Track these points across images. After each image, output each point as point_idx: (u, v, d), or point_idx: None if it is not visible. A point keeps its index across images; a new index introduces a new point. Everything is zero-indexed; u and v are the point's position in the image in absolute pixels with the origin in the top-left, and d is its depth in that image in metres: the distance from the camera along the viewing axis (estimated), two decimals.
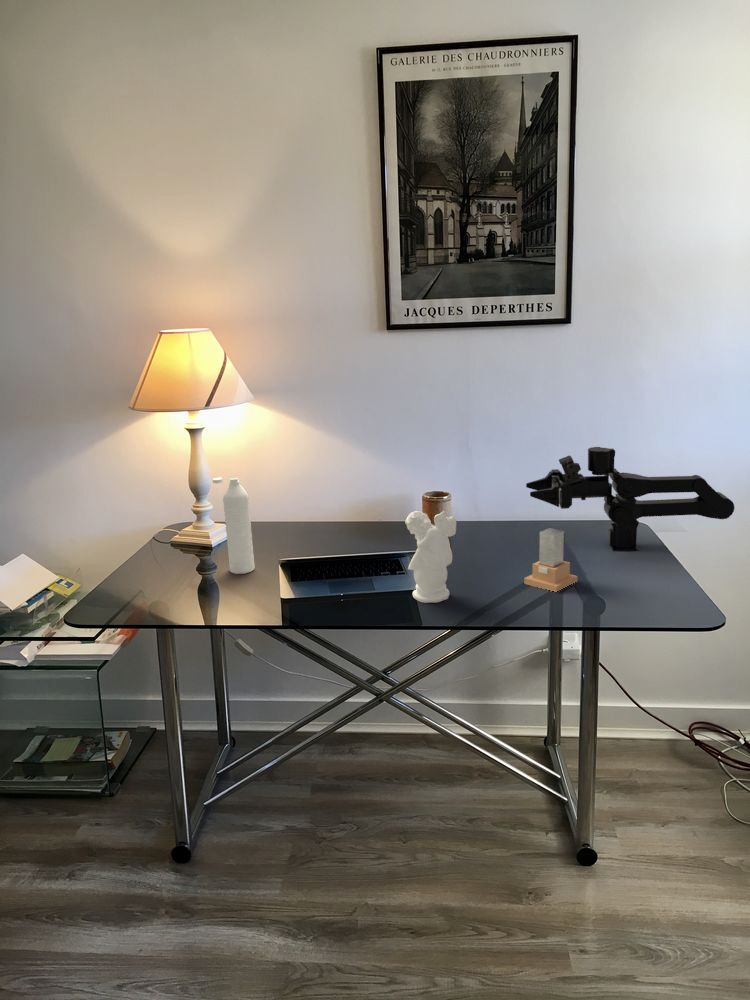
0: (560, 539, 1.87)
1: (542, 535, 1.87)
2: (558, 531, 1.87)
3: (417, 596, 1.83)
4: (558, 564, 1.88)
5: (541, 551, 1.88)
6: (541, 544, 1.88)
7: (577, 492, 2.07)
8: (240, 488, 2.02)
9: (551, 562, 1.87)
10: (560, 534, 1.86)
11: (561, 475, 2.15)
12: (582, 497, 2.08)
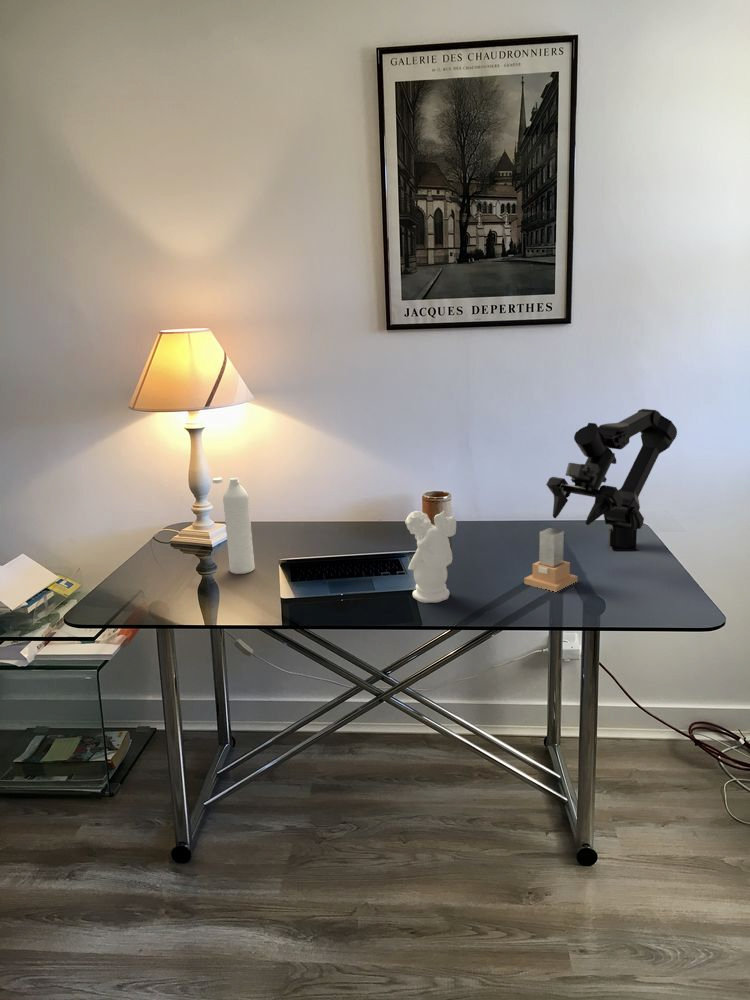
0: (560, 539, 1.87)
1: (542, 535, 1.87)
2: (558, 531, 1.87)
3: (417, 596, 1.83)
4: (558, 564, 1.88)
5: (541, 551, 1.88)
6: (541, 544, 1.88)
7: (601, 482, 1.95)
8: (240, 488, 2.02)
9: (551, 562, 1.87)
10: (560, 534, 1.86)
11: (563, 480, 1.98)
12: (604, 480, 1.96)
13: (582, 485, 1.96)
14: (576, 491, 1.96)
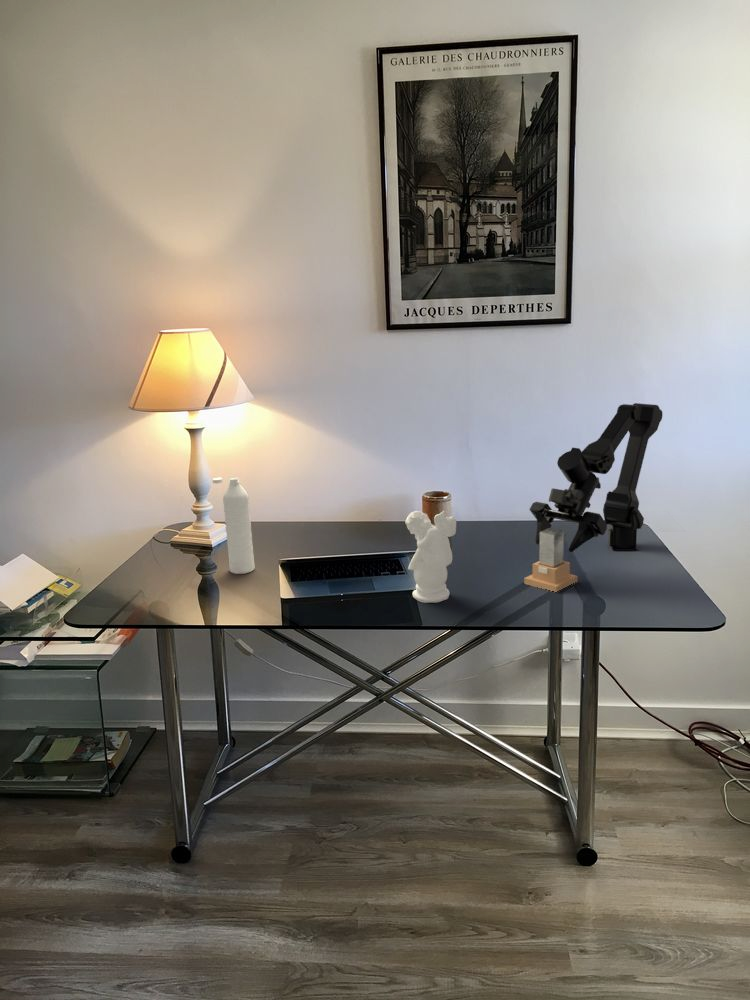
0: (560, 539, 1.87)
1: (542, 535, 1.87)
2: (558, 531, 1.87)
3: (417, 596, 1.83)
4: (558, 564, 1.88)
5: (541, 551, 1.88)
6: (541, 544, 1.88)
7: (585, 507, 1.91)
8: (240, 488, 2.02)
9: (551, 562, 1.87)
10: (560, 534, 1.86)
11: (546, 505, 1.94)
12: (588, 505, 1.93)
13: (565, 511, 1.92)
14: (559, 517, 1.92)
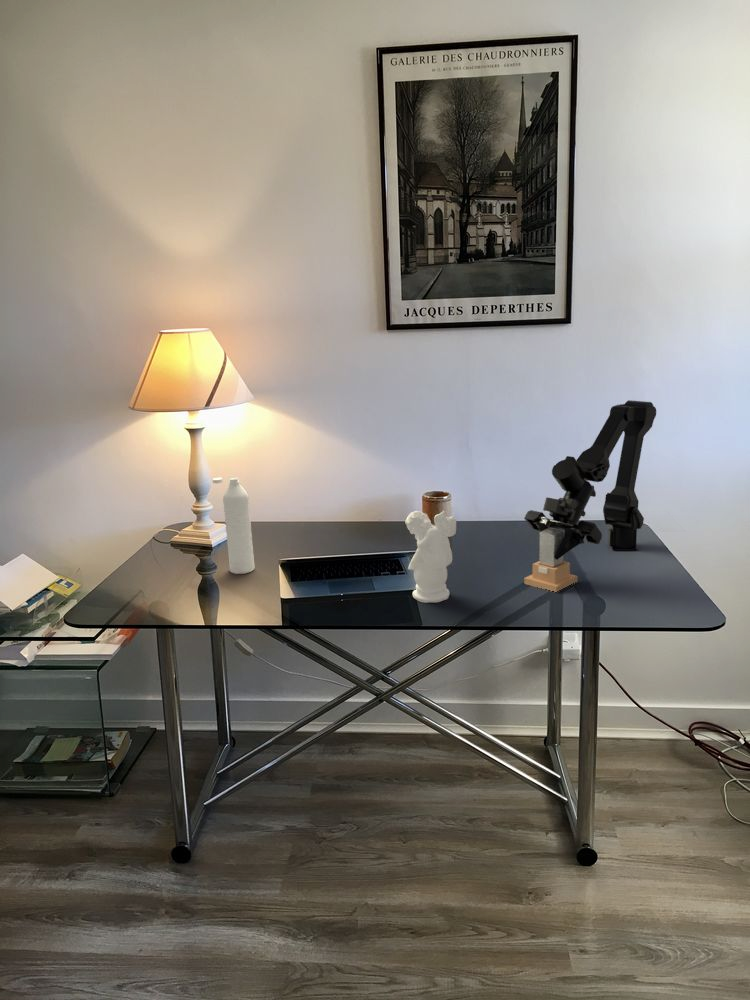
0: (560, 539, 1.87)
1: (542, 535, 1.87)
2: (558, 531, 1.87)
3: (417, 596, 1.83)
4: (558, 564, 1.88)
5: (541, 551, 1.88)
6: (541, 544, 1.88)
7: (580, 516, 1.90)
8: (240, 488, 2.02)
9: (551, 562, 1.87)
10: (560, 534, 1.86)
11: (541, 514, 1.93)
12: (583, 514, 1.92)
13: (560, 519, 1.91)
14: (554, 526, 1.91)
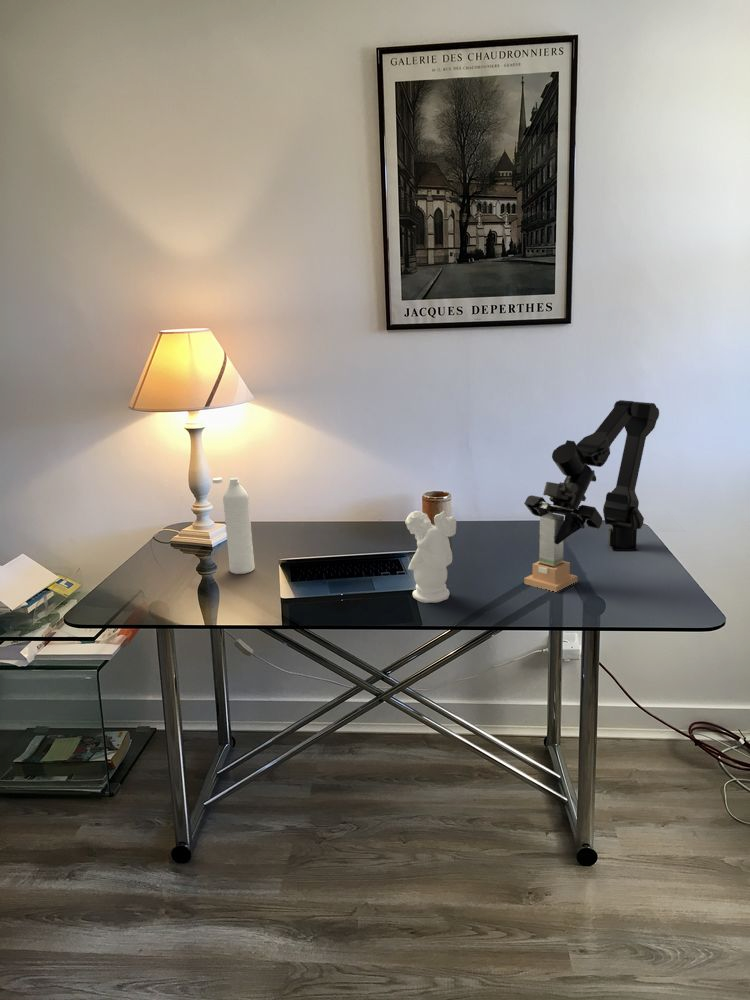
0: (560, 523, 1.86)
1: (542, 520, 1.86)
2: (558, 516, 1.86)
3: (417, 596, 1.83)
4: (558, 550, 1.87)
5: (541, 536, 1.87)
6: (541, 529, 1.87)
7: (580, 501, 1.89)
8: (240, 488, 2.02)
9: (551, 547, 1.86)
10: (560, 519, 1.85)
11: (541, 499, 1.92)
12: (583, 498, 1.91)
13: (561, 504, 1.90)
14: (555, 510, 1.90)
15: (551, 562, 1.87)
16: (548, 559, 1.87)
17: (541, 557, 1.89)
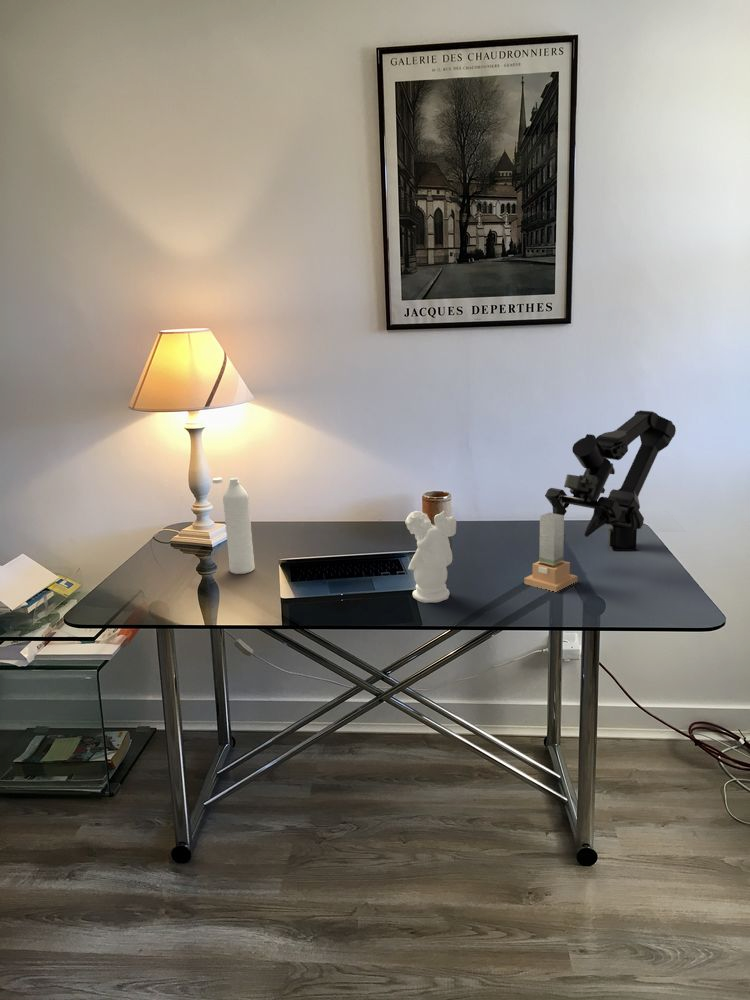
0: (560, 523, 1.86)
1: (542, 519, 1.86)
2: (558, 515, 1.86)
3: (417, 596, 1.83)
4: (558, 549, 1.87)
5: (541, 536, 1.87)
6: (541, 529, 1.87)
7: (600, 493, 1.95)
8: (240, 488, 2.02)
9: (551, 547, 1.86)
10: (560, 518, 1.85)
11: (562, 491, 1.98)
12: (602, 491, 1.96)
13: (581, 496, 1.96)
14: (575, 502, 1.96)
15: (551, 561, 1.87)
16: (548, 559, 1.87)
17: (541, 557, 1.88)
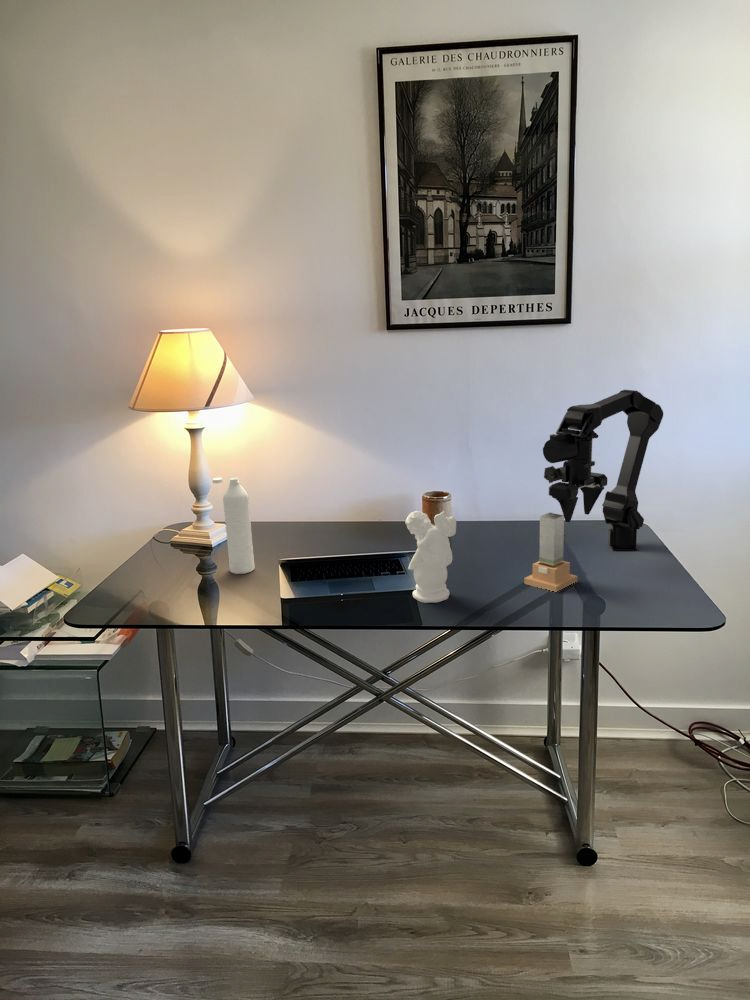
0: (560, 523, 1.86)
1: (542, 519, 1.86)
2: (558, 515, 1.86)
3: (417, 596, 1.83)
4: (558, 549, 1.87)
5: (541, 536, 1.87)
6: (541, 529, 1.87)
7: (576, 472, 1.94)
8: (240, 488, 2.02)
9: (551, 547, 1.86)
10: (560, 518, 1.85)
11: None
12: (582, 467, 1.93)
13: None
14: None
15: (551, 561, 1.87)
16: (548, 559, 1.87)
17: (541, 557, 1.88)
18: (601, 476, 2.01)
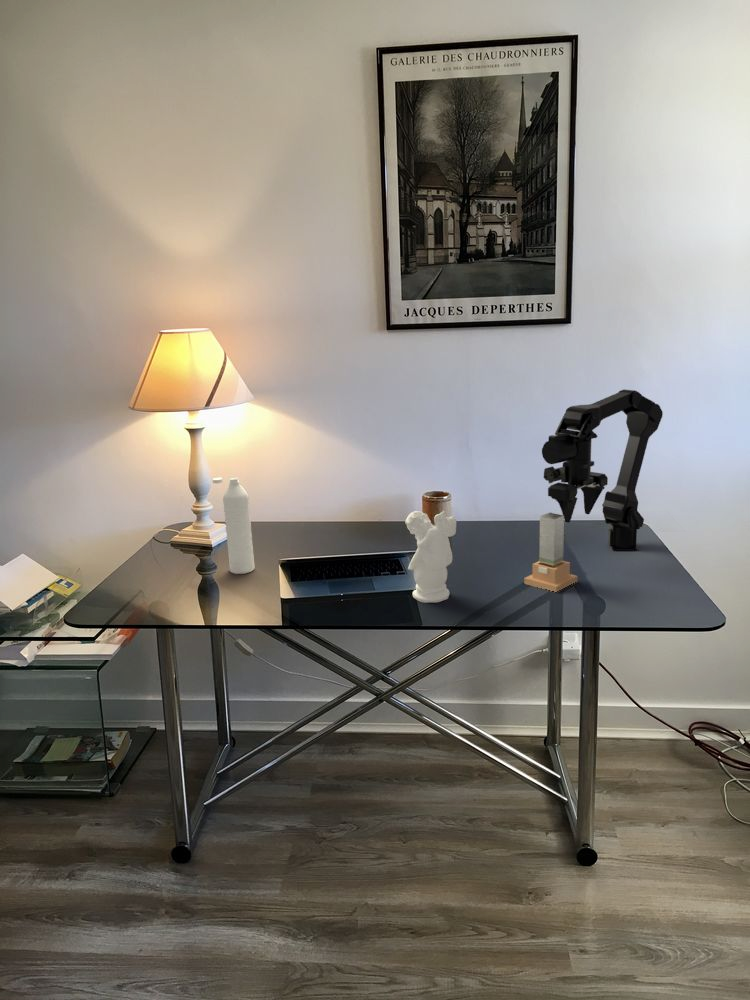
0: (560, 523, 1.86)
1: (542, 519, 1.86)
2: (558, 515, 1.86)
3: (417, 596, 1.83)
4: (558, 549, 1.87)
5: (541, 536, 1.87)
6: (541, 529, 1.87)
7: (575, 472, 1.94)
8: (240, 488, 2.02)
9: (551, 547, 1.86)
10: (560, 518, 1.85)
11: None
12: (581, 467, 1.93)
13: None
14: None
15: (551, 561, 1.87)
16: (548, 559, 1.87)
17: (541, 557, 1.88)
18: (601, 476, 2.00)
